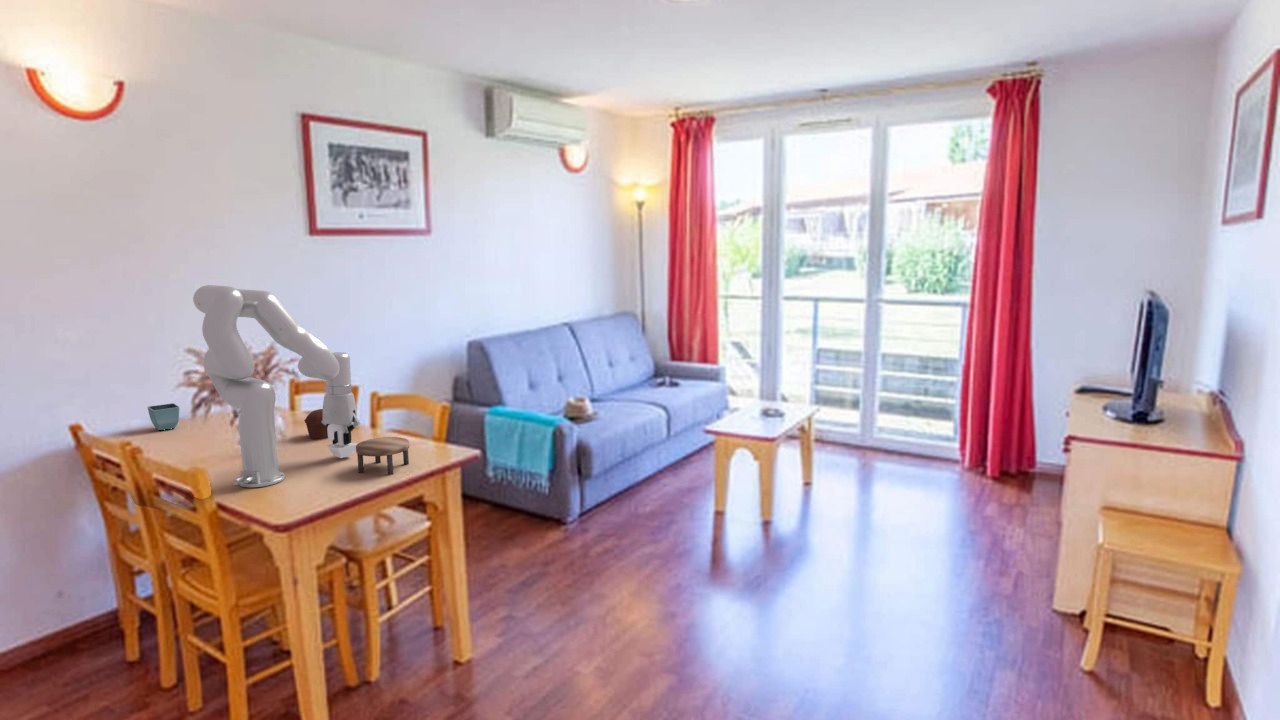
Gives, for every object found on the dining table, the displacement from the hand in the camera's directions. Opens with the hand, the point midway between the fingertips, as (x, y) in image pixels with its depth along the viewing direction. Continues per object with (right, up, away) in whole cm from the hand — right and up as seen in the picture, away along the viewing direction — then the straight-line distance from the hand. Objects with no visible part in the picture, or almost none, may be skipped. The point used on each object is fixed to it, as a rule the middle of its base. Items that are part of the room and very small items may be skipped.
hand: (341, 442), depth 235 cm
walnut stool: (+18, -7, -10) cm, 21 cm away
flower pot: (-83, +1, +35) cm, 90 cm away
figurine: (0, -4, +1) cm, 5 cm away
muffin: (-19, -1, +27) cm, 33 cm away
